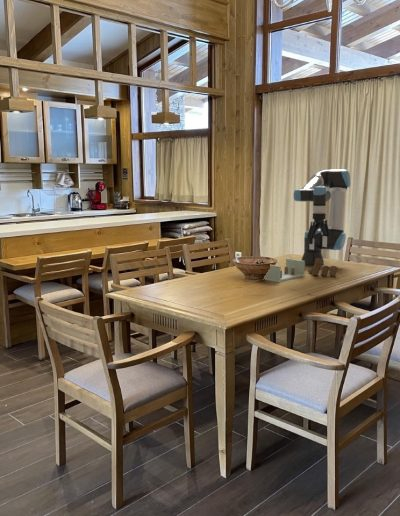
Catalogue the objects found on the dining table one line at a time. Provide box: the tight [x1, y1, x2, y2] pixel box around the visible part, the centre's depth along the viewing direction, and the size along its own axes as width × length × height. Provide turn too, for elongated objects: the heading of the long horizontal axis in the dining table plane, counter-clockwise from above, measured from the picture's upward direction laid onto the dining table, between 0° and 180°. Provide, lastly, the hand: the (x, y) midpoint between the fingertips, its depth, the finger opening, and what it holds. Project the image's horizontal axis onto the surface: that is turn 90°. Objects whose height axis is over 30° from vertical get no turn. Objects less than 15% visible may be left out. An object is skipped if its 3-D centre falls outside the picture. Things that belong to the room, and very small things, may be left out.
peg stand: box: [263, 257, 306, 283], centre depth 294 cm, size 25×13×9 cm, turn 133°
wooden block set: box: [307, 258, 338, 278], centre depth 299 cm, size 18×9×10 cm, turn 51°
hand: (318, 248), depth 295 cm, fingers open, 13 cm apart
